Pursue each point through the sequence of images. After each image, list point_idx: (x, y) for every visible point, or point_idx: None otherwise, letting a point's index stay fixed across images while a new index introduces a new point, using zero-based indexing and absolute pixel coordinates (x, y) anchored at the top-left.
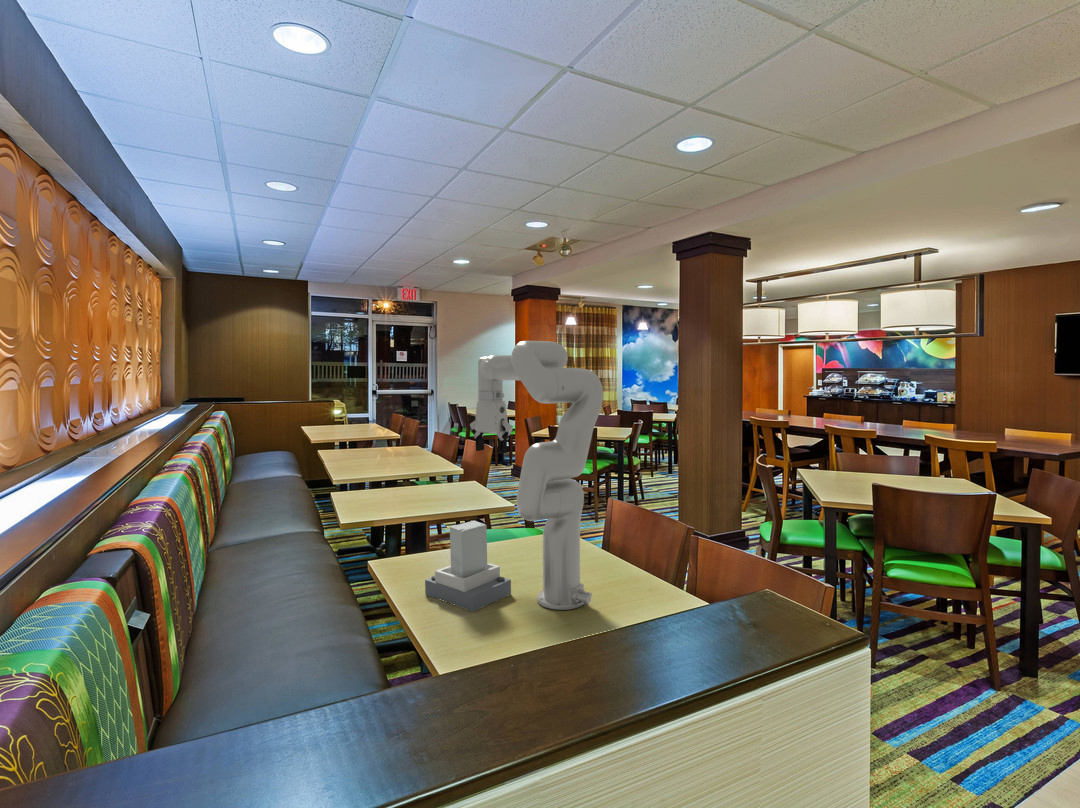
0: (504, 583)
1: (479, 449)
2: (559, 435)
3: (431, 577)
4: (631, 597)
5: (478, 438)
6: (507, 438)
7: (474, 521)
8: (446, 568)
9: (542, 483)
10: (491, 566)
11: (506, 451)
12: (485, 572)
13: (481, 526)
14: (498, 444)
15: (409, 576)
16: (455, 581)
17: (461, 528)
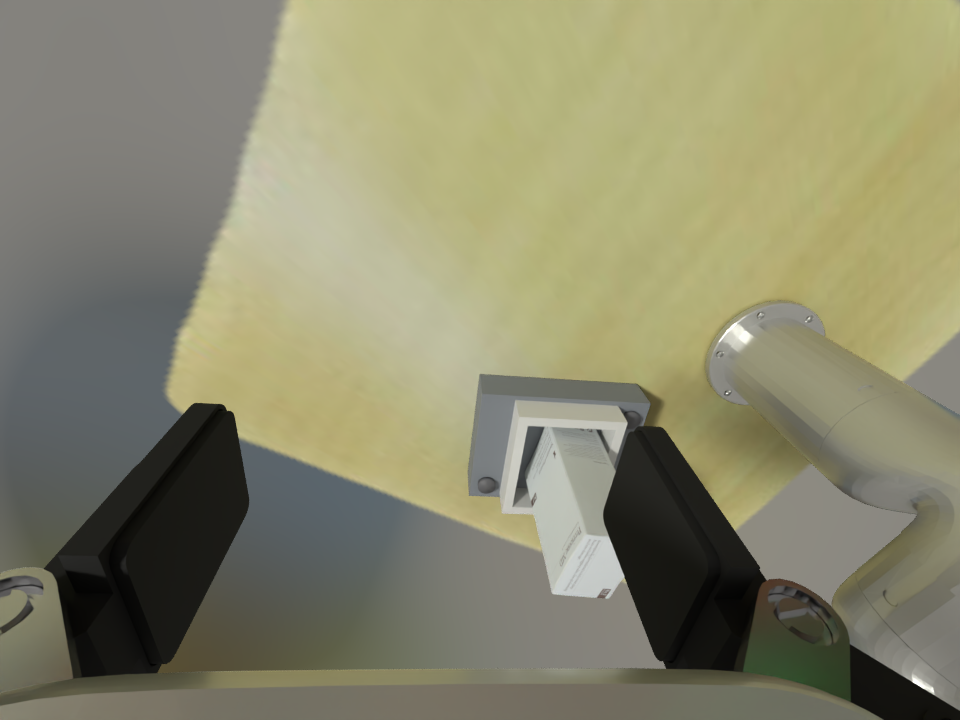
0: (643, 421)
1: (241, 489)
2: None
3: (471, 481)
4: (930, 248)
5: (143, 651)
6: (822, 633)
7: (595, 541)
8: (514, 492)
9: None
10: (604, 428)
11: (662, 435)
12: (613, 463)
13: None
14: (646, 617)
15: (348, 426)
16: None
17: (596, 590)
